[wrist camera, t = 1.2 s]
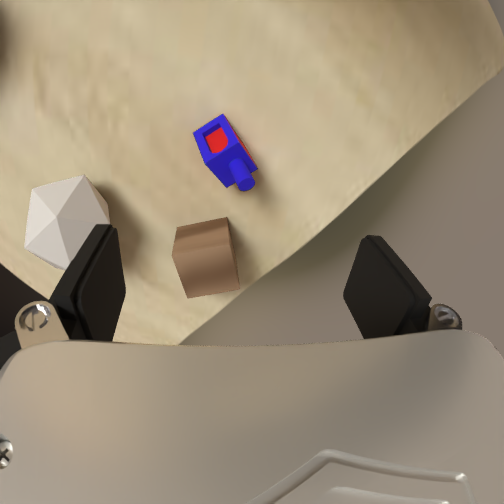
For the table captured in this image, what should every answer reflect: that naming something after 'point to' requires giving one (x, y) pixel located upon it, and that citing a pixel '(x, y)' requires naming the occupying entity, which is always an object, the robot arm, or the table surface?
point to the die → (63, 219)
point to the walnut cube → (205, 258)
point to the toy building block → (225, 154)
